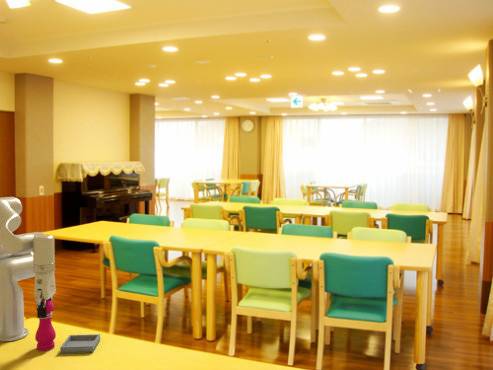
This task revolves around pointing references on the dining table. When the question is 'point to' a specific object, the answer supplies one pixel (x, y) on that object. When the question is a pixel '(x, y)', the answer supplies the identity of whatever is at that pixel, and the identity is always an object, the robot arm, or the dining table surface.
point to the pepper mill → (46, 330)
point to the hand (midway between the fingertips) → (45, 314)
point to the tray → (80, 344)
